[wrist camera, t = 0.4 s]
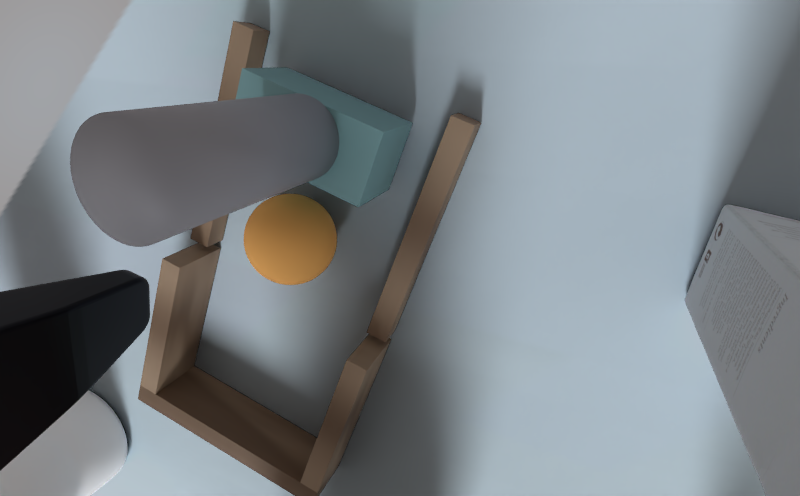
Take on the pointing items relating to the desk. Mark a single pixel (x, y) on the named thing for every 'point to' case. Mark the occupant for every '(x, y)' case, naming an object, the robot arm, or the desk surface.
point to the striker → (231, 155)
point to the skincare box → (755, 335)
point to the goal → (320, 457)
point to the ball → (290, 239)
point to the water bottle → (70, 454)
